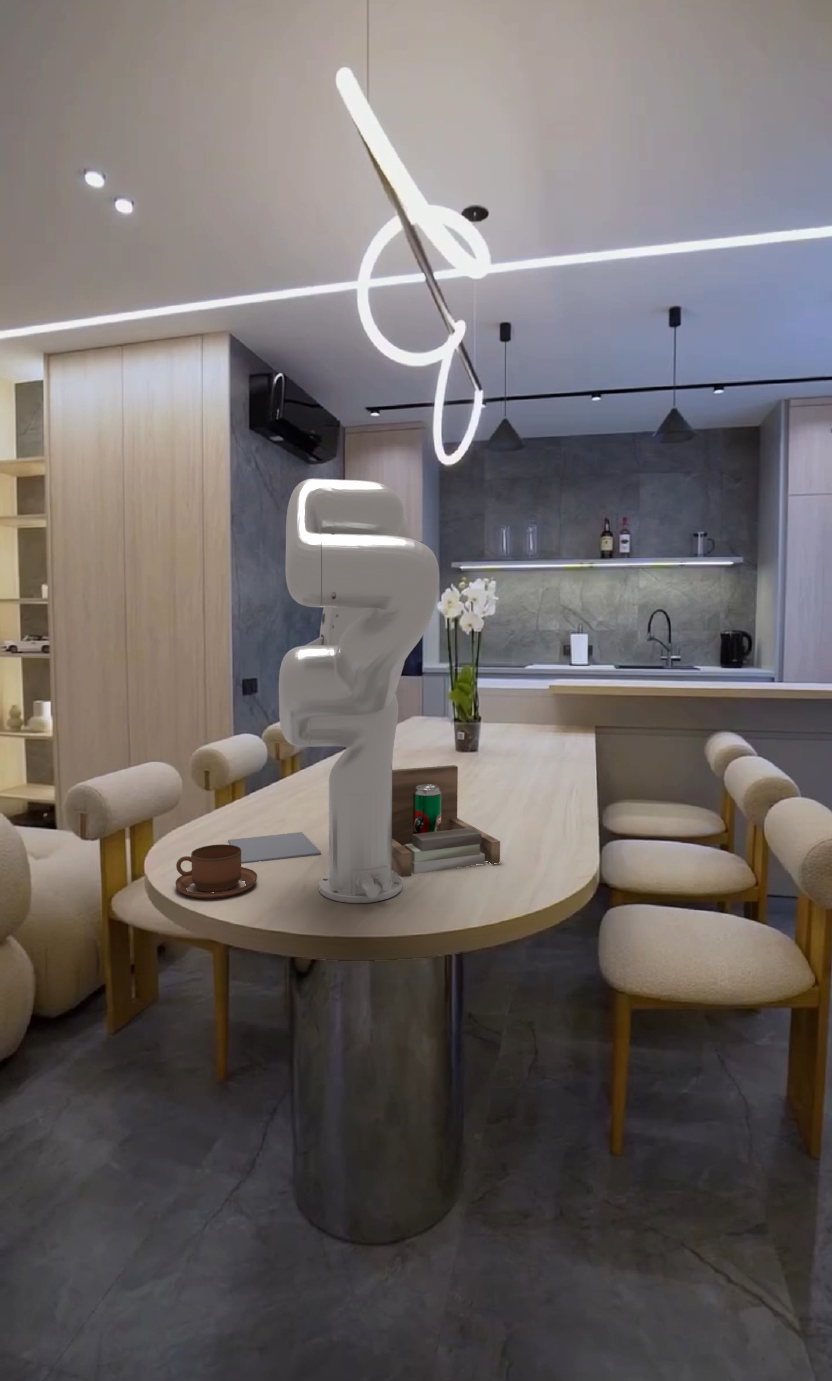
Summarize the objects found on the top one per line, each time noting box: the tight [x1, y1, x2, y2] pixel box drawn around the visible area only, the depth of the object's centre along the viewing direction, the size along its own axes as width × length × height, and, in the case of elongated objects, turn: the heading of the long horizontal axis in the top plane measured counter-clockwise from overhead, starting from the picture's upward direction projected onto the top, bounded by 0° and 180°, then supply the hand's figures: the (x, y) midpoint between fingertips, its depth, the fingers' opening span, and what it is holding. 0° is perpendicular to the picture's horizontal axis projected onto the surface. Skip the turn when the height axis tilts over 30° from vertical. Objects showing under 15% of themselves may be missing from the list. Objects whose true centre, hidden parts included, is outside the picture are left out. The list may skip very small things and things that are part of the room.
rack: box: [392, 764, 501, 878], centre depth 125 cm, size 18×18×14 cm
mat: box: [228, 831, 322, 865], centre depth 129 cm, size 14×14×1 cm
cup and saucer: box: [175, 843, 258, 900], centre depth 108 cm, size 12×12×6 cm
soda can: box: [413, 785, 441, 834], centre depth 126 cm, size 5×5×12 cm
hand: (349, 694), depth 125 cm, fingers open, 9 cm apart
